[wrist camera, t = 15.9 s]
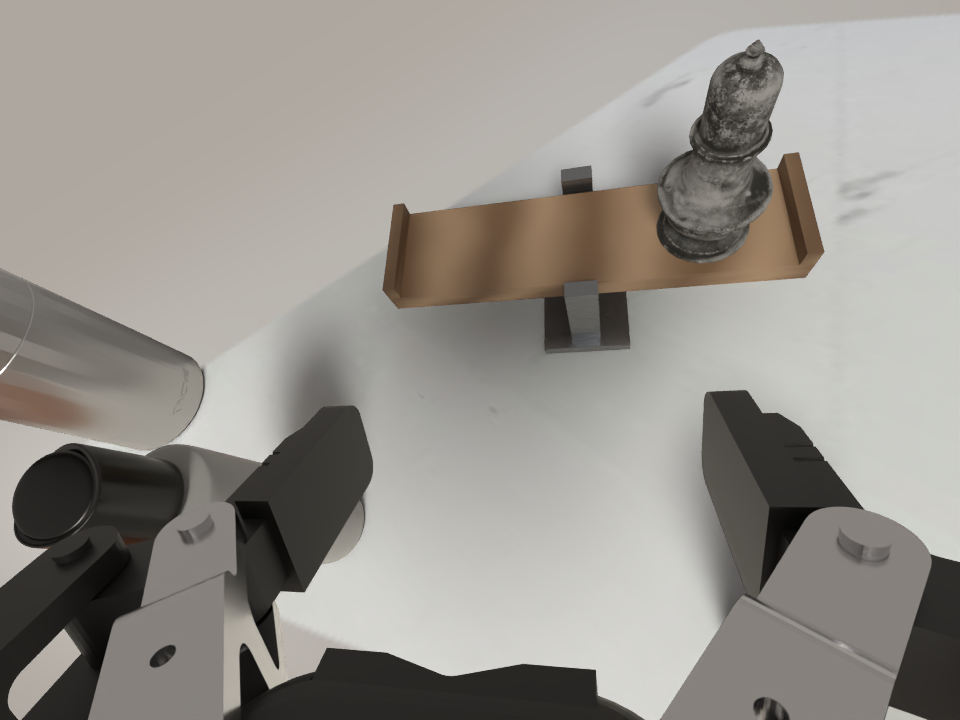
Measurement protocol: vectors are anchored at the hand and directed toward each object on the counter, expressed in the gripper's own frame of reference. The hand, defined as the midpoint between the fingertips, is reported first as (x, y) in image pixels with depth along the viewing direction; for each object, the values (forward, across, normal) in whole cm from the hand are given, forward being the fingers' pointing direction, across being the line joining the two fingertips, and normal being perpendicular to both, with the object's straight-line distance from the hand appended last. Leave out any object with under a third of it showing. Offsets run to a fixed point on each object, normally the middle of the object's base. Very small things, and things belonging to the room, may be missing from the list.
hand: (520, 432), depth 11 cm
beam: (+24, -2, +1) cm, 24 cm away
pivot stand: (+28, -2, +4) cm, 28 cm away
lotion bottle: (+15, +18, +17) cm, 29 cm away
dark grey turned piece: (+23, -9, 0) cm, 25 cm away
